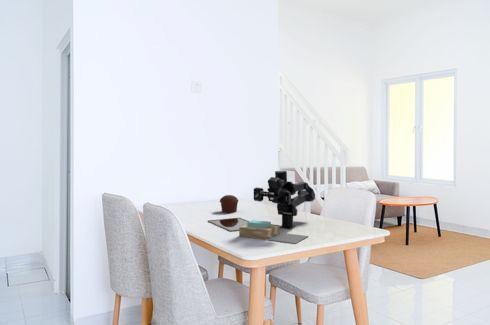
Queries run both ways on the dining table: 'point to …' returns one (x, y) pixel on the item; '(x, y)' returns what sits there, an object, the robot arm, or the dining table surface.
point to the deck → (259, 232)
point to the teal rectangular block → (258, 224)
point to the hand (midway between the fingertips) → (263, 199)
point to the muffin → (229, 204)
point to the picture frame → (230, 223)
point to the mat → (288, 238)
